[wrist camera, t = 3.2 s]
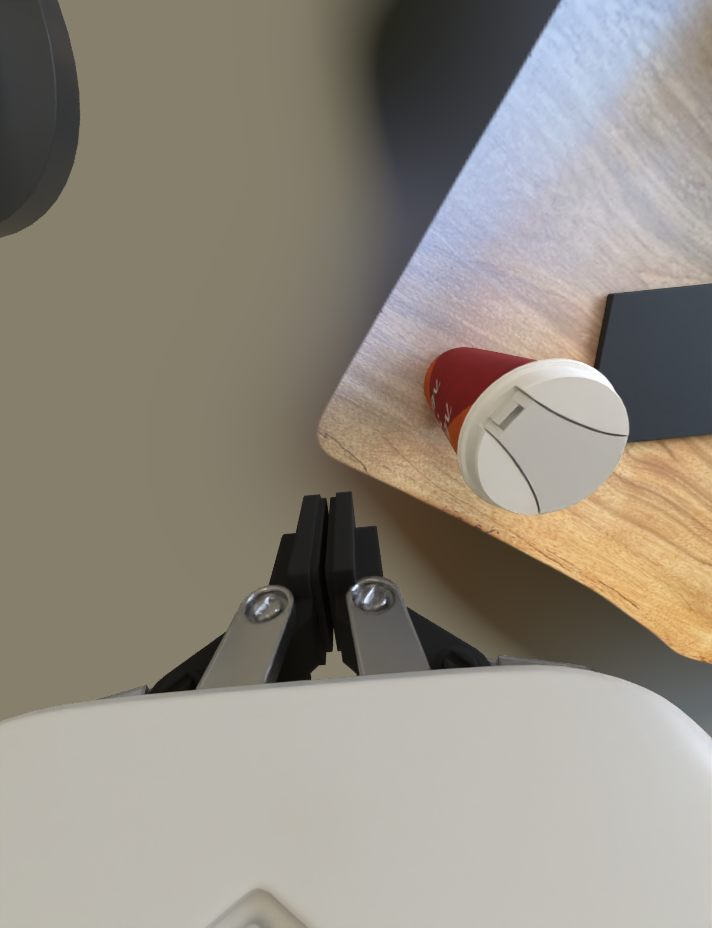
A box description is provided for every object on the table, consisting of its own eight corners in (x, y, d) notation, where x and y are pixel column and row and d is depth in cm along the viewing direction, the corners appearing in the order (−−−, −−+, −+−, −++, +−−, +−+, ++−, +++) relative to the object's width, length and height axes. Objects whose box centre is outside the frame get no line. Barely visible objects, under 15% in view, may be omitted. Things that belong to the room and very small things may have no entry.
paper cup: (390, 392, 28) (430, 469, 16) (457, 309, 26) (567, 321, 13) (460, 446, 31) (543, 550, 18) (527, 374, 28) (678, 436, 16)
